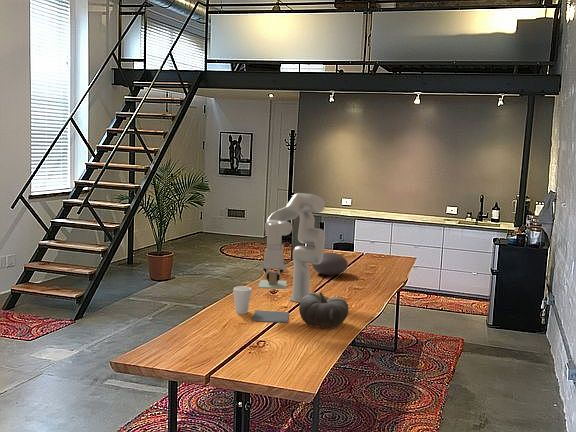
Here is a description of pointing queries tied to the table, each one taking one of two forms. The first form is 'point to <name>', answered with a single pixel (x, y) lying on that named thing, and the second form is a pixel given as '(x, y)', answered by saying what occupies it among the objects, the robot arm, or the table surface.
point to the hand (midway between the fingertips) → (272, 280)
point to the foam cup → (242, 299)
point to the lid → (272, 282)
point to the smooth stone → (331, 264)
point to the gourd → (323, 310)
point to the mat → (271, 316)
